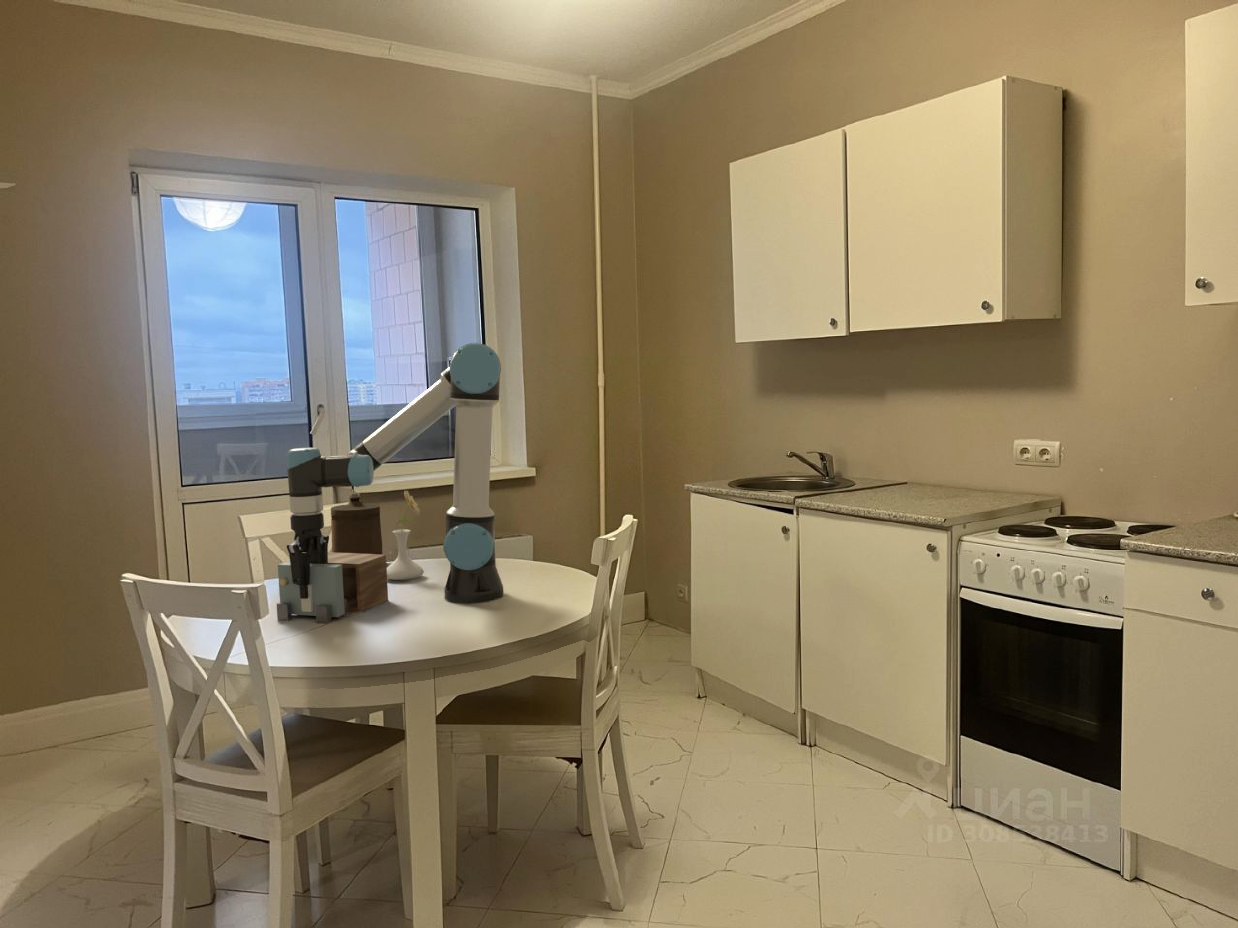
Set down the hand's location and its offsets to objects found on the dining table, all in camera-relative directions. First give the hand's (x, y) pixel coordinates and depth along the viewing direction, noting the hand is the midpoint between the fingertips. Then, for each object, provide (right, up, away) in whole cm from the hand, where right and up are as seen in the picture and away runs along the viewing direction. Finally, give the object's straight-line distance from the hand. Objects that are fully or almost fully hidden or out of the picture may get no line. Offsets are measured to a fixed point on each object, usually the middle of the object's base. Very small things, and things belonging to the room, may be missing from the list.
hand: (312, 609), depth 225 cm
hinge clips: (0, -2, 0) cm, 2 cm away
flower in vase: (+13, +2, +42) cm, 44 cm away
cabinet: (+4, -1, +12) cm, 13 cm away
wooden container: (-7, +4, +63) cm, 64 cm away
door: (0, -1, 0) cm, 1 cm away
